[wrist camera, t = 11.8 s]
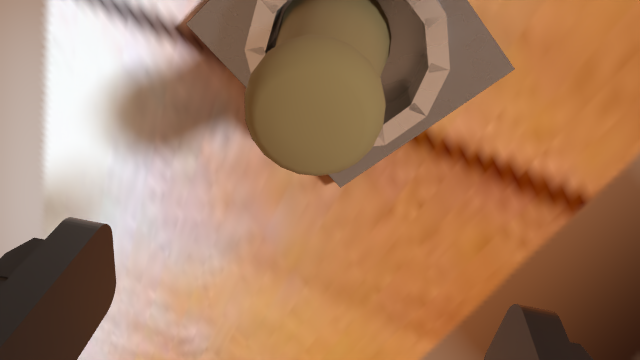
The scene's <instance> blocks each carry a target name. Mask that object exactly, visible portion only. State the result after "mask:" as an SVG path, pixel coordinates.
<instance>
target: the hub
mask: <svg viewBox="0 0 640 360" xmlns="http://www.w3.org/2000/svg"><path fill="white" fill-rule="evenodd" d="M376 1H378V2H379V4H380V6H381V7H382V9H383V11H384V13H385V15H386V16H387V18H388V22H389V27H390V32H391V45H390V53H389V57H388V59H387V61H386V64H385V66H384V69H383V71H382V74H381V76H380V79H381V83H382V87H383V92H384V97H385V104H386V107H385V115H384V122H383V128H382V130H381V132H380V134H379V136H378V138H377V140H376V142H375V144H374V145H373V147H372V148H371V150H370V151H369V152H368V153H367V154H366V155H365V156H364V157H363V158H362V159H361V160H360V161H359V162H358V163H357V164H355V165H353V166H351V167H349V168H347V169H345V170H343V171H341V172H339V173H333V174H328V175H329V176H330V177H331V178H332V179H333V180H334V181H335V182H336V183H337V185H338V186H339V187H340V188H341V187H342V186H344V185H345V184H347V183H348V182H350V181H351V180H352V179H354V178H355V177H357V176H358V175H360V174H361V173H363V172H364V171H366V170H367V169H369V168H370V167H372V166H373V165H375V164H376V163H377V162H379V161H380V160H382V159H383V158H385V157H386V156H388V155H389V154H391V153H392V152H394V151H395V150H397V149H398V148H400V147H401V146H403V145H404V144H405V143H407V142H408V141H410V140H411V139H413V138H414V137H416V136H417V135H419V134H420V133H422V132H423V131H425V130H426V129H428V128H429V127H430V126H432V125H433V124H435V123H436V122H438V121H439V120H441V119H442V118H444V117H445V116H447V115H448V114H450V113H451V112H453V111H454V110H455V109H457V108H458V107H460V106H461V105H463V104H464V103H466V102H467V101H469V100H470V99H472V98H473V97H475V96H476V95H478V94H479V93H480V92H482V91H483V90H485V89H486V88H488V87H489V86H491V85H492V84H494V83H495V82H497V81H498V80H500V79H501V78H503V77H504V76H505V75H507V74H508V73H510V72H511V71H513V70H514V67H513V66H512V64H511V63H510V61H509V60H508V58H507V57H506V56H505V54H504V53H503V51H502V50H501V48H500V47H499V45H498V44H497V43H496V41H495V40H494V38H493V37H492V35H491V34H490V33H489V31H488V30H487V28H486V27H485V25H484V24H483V22H482V21H481V20H480V18H479V17H478V15H477V14H476V12H475V11H474V9H473V8H472V7H471V5H470V4H469V2H468V1H467V0H376ZM291 2H292V0H209V1H208V2H207V3H206V4H205V5H204V6H203V7H202V8H201V9H200V10H199V11H198V12H197V13H196V14H195V15H194V16H193V18H192V19H191V20H190V21H189V22H188V23H187V24H186V25H187V26H188V27H189V28H190V29H191V30H192V31H193V32H194V33H195V34H196V35H197V36H198V37H199V38H200V39H201V40H202V41H203V43H204V44H205V45H206V46H207V47H208V48H209V49H210V50H211V51H212V52H213V53H214V54H215V55H216V56H217V57H218V58H219V59H220V61H221V62H222V63H223V64H224V65H225V66H226V67H227V68H228V69H229V70H230V71H231V72H232V73H233V74H234V75H235V76H236V77H237V79H238V80H239V81H240V82H241V83H242V84H243V85H244V86H245V87H246V88H247V84H248V81H249V78H250V75H251V73H252V72H253V70H254V69H255V68H256V66H257V65H258V64H259V62H260V61H261V60H262V58H263V57H264V56H265V55H266V53H267V52H268V51H270V50H271V49H273V48H274V47H275V46H276V41H277V35H278V30H279V26H280V23H281V20H282V17H283V14H284V11H285V10H286V8H287V7H288V6H289V4H290V3H291Z"/></svg>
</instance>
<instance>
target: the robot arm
mask: <svg viewBox="0 0 640 360" xmlns="http://www.w3.org/2000/svg"><path fill="white" fill-rule="evenodd" d="M115 288H116V275H115V262H114V249H113V237H112V230H111V227H110V226H109V225H107V224H103V223H98V222H92V221H87V220H82V219H77V218H72V217H69V218H66V219H65V220H63V221H62V222H61V223H60V224H59V225H58V226H57V227H56V228H55V230H54V231H53V232H52V233H51V234H50V235H49V236H48V237H47V238H46V239H45V240H43V239H38V238H33V239H31V240H29V241H27V242H25V243H24V244H22V245H20V246H18V247H16V248H14V249H12V250H11V251H9V252H7V253H5V254H4V255H3V256H2V257H1V258H0V360H77V359H78V357H79V356H80V354H81V352H82V351H83V349H84V348H85V346H86V345H87V343H88V342H89V340H90V338H91V337H92V335H93V334H94V332H95V331H96V329H97V327H98V326H99V324H100V323H101V321H102V320H103V318H104V317H105V315H106V313H107V312H108V310H109V308H110V306H111V303H112V300H113V297H114V293H115ZM484 360H593V359H592V358H591V356H590V355H589V354H588V353H587V352H586V351H585V349H584V348H583V347H582V346H581V345H580V344H576V343H571V342H570V341H569V339H568V337H567V334H566V332H565V330H564V327H563V325H562V322H561V320H560V318H559V316H558V315H557V314H556V313H555V312H553V311H549V310H544V309H539V308H533V307H528V306H523V305H518V304H514V305H512V306H511V307H510V308H509V310H508V311H507V313H506V315H505V317H504V319H503V321H502V323H501V325H500V327H499V329H498V331H497V333H496V335H495V337H494V339H493V341H492V343H491V345H490V347H489V349H488V351H487V353H486V355H485V358H484Z"/></svg>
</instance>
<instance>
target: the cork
mask: <svg viewBox="0 0 640 360" xmlns="http://www.w3.org/2000/svg"><path fill="white" fill-rule="evenodd" d="M390 45H391V32H390V27H389V22H388V18H387V16H386V15H385V13H384V11H383V9H382V7H381V6H380V4H379V2H378V1H376V0H292V2H291V3H290V4H289V6H288V7H287V8H286V10H285V11H284V14H283V17H282V20H281V23H280V26H279V30H278V35H277V41H276V46H275V47H274V48H273V49H271V50H270V51H268V52H267V53H266V55H265V56H264V57H263V58H262V60H261V61H260V62H259V64H258V65H257V66H256V68H255V69H254V70H253V72H252V73H251V75H250V78H249V81H248V84H247V88H246V91H245V121H246V124H247V126H248V129H249V132H250V134H251V137H252V139H253V141H254V142H255V143H256V145H257V146H258V147H259V149H260V150H261V151H262V152H263V154H264V155H265V156H267V157H268V158H269V159H271V160H272V161H273V162H275V163H276V164H277V165H279V166H280V167H282V168H285V169H287V170H290V171H292V172H295V173H298V174H304V175H314V176H322V175H328V174H333V173H339V172H341V171H343V170H345V169H347V168H349V167H351V166H353V165H355V164H357V163H358V162H359V161H360V160H361V159H362V158H363V157H364V156H365V155H366V154H367V153H368V152H369V151H370V150H371V148H372V147H373V145H374V144H375V142H376V140H377V138H378V136H379V134H380V132H381V130H382V128H383V122H384V115H385V107H386V104H385V97H384V92H383V87H382V83H381V79H380V76H381V74H382V71H383V69H384V66H385V64H386V61H387V59H388V57H389V53H390Z"/></svg>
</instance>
